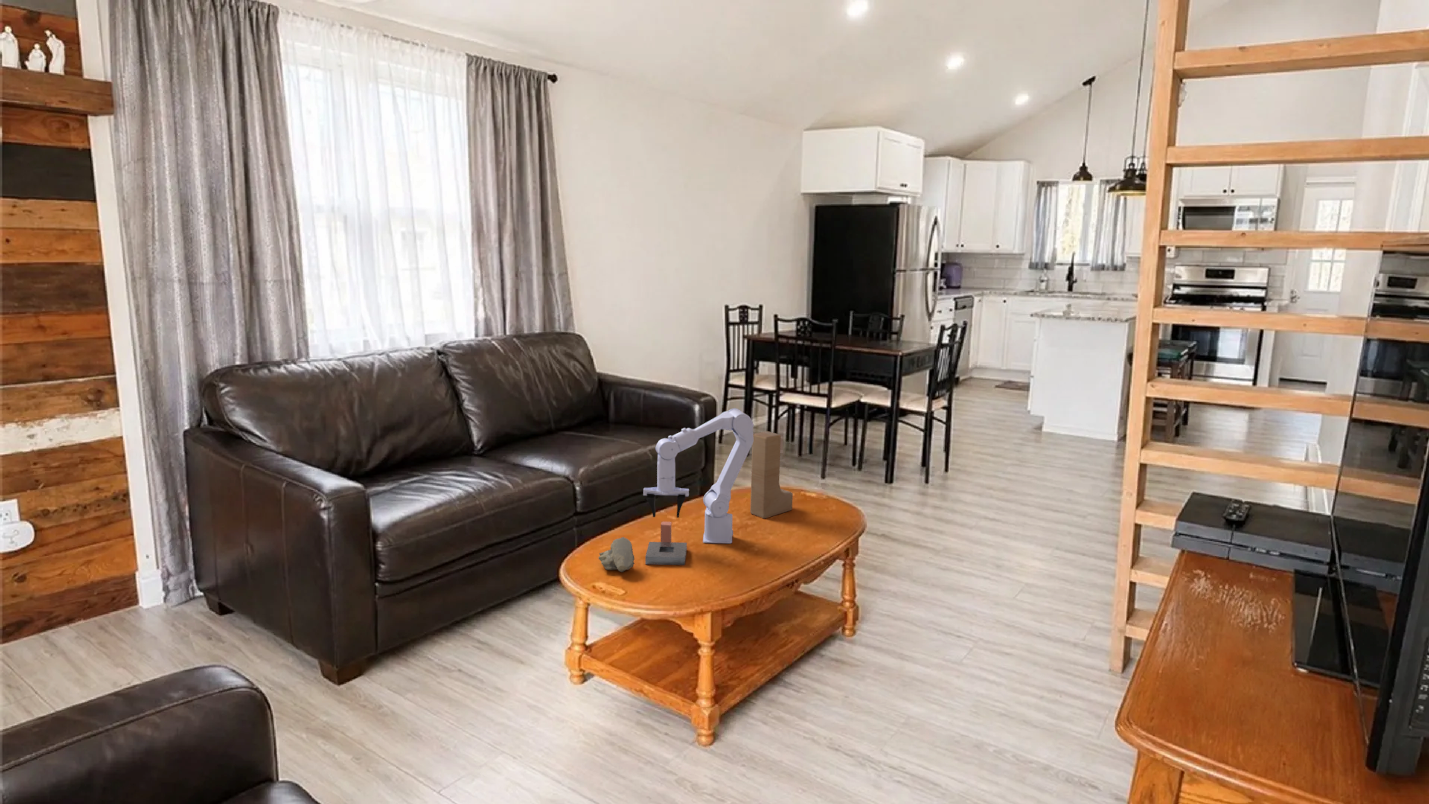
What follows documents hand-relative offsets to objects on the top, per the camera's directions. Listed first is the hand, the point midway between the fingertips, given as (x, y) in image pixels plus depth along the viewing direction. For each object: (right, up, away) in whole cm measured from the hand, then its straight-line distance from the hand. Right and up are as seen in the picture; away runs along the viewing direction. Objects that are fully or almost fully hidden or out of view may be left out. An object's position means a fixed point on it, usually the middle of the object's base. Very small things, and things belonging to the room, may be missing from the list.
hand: (666, 516), depth 263 cm
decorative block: (+36, -3, +34) cm, 50 cm away
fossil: (-14, -14, -18) cm, 27 cm away
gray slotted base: (+1, -11, -9) cm, 15 cm away
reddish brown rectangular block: (0, -9, +2) cm, 9 cm away
